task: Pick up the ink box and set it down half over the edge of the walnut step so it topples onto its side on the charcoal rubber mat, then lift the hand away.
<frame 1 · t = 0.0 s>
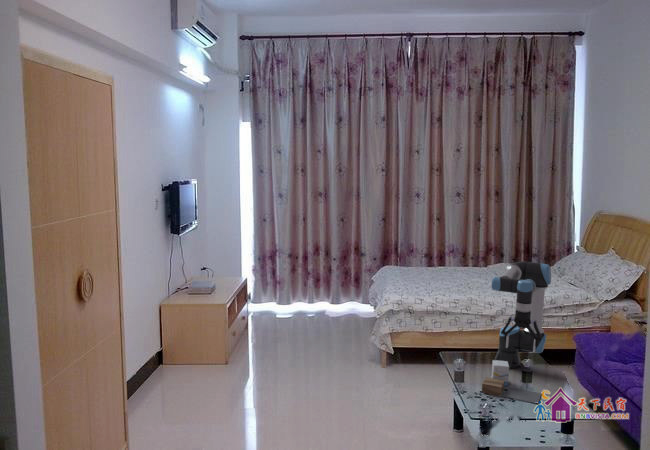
hand: (520, 349, 302), 28 cm above the table, tool pointing down, fingers open, 13 cm apart
walnut step: (492, 390, 317), on the table
ink box: (499, 382, 328), on the table
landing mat: (523, 395, 312), on the table
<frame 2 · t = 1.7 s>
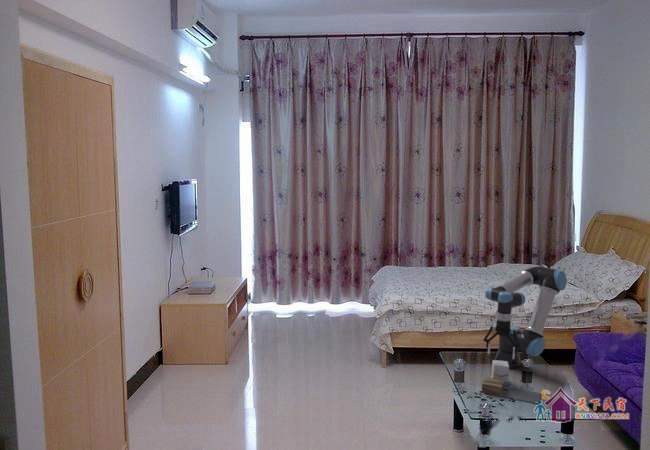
hand: (500, 356, 326), 16 cm above the table, tool pointing down, fingers open, 13 cm apart
nothing on the table moved.
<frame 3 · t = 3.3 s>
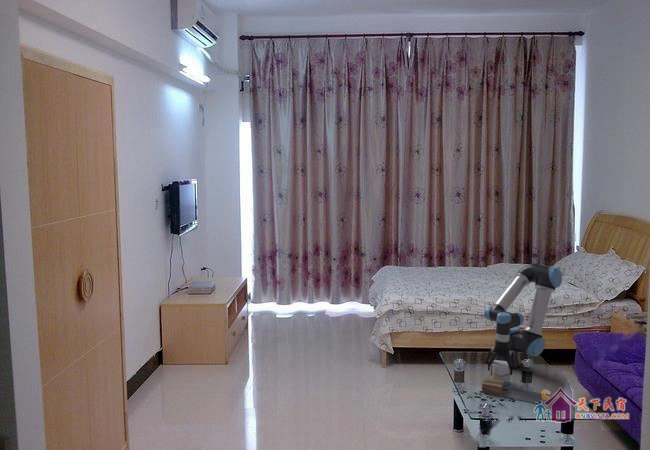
hand: (499, 378, 328), 3 cm above the table, tool pointing down, fingers closed on ink box, 10 cm apart
ink box: (499, 382, 328), on the table, touching gripper
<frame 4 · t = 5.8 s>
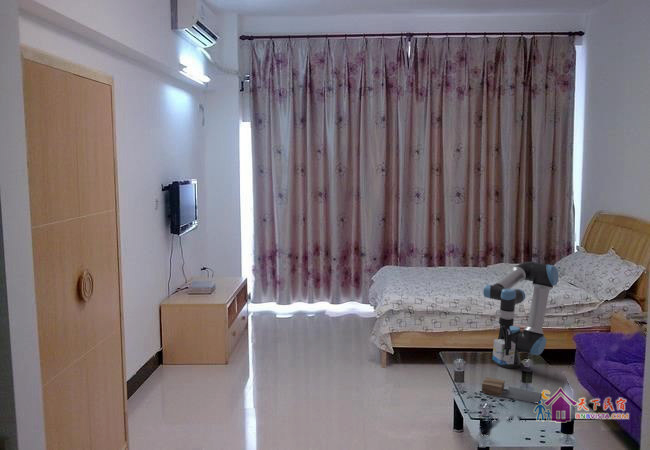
hand: (503, 357, 317), 18 cm above the table, tool pointing down, fingers closed on ink box, 10 cm apart
ink box: (502, 362, 318), point 16 cm above the table, touching gripper
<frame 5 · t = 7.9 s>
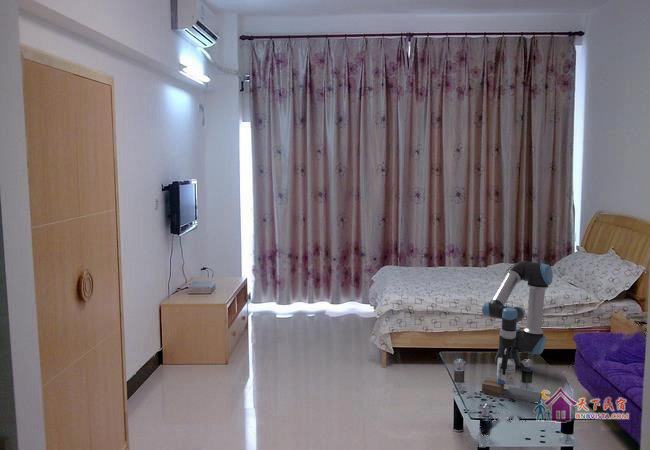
hand: (505, 376, 313), 10 cm above the table, tool pointing down, fingers closed on ink box, 10 cm apart
ink box: (505, 381, 314), point 7 cm above the table, touching gripper
when the fingers open (10 cm above the table, at t = 8.6 s): ink box drops 2 cm, resting on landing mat.
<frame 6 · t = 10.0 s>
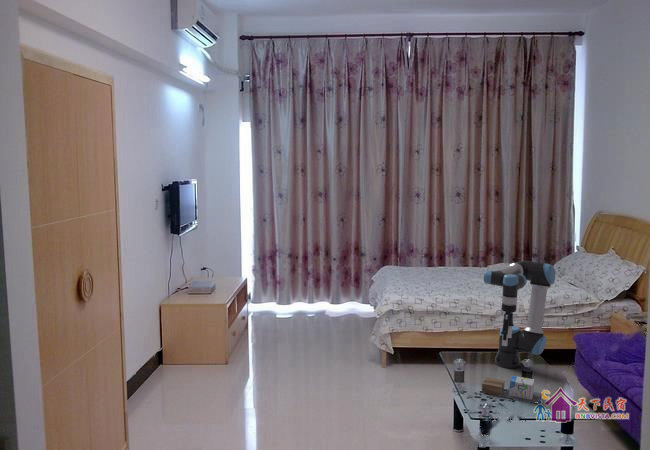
hand: (506, 341, 312), 29 cm above the table, tool pointing down, fingers open, 13 cm apart
ink box: (510, 385, 314), point 5 cm above the table, touching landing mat
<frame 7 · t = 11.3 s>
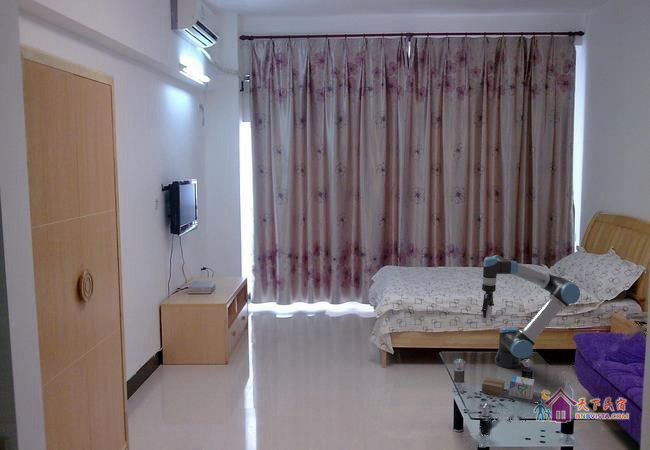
hand: (486, 319, 336), 33 cm above the table, tool pointing down, fingers open, 13 cm apart
nothing on the table moved.
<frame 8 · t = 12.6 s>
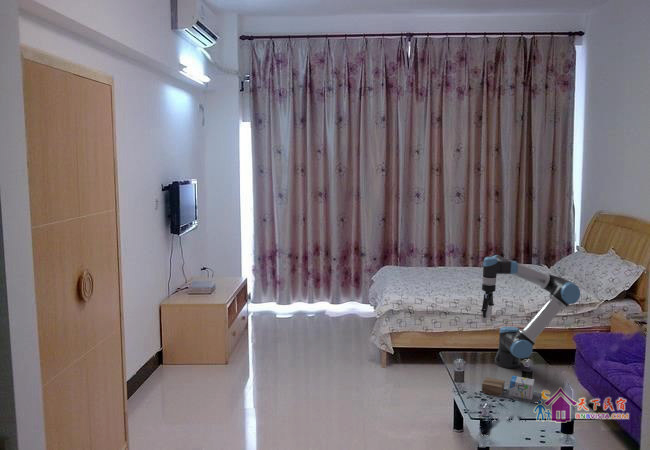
hand: (486, 319, 336), 33 cm above the table, tool pointing down, fingers open, 13 cm apart
nothing on the table moved.
at the end: ink box tilted 89°; ink box touching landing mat; the gripper is holding nothing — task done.
